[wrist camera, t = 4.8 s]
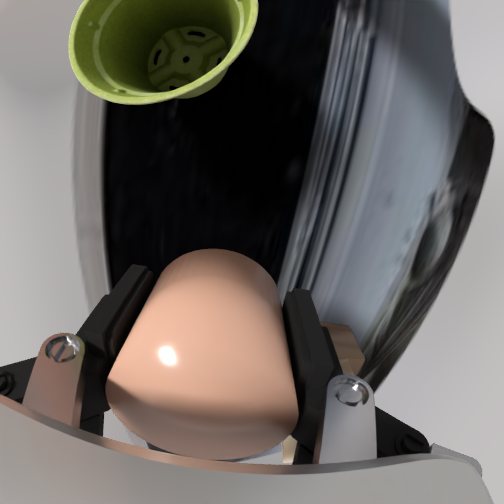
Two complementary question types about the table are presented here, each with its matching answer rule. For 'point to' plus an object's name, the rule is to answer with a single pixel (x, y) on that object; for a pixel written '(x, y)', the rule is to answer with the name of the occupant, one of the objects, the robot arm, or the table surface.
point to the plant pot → (157, 46)
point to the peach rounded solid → (207, 361)
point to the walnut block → (346, 345)
